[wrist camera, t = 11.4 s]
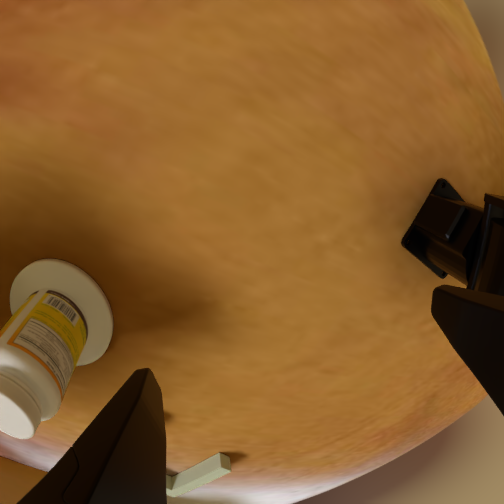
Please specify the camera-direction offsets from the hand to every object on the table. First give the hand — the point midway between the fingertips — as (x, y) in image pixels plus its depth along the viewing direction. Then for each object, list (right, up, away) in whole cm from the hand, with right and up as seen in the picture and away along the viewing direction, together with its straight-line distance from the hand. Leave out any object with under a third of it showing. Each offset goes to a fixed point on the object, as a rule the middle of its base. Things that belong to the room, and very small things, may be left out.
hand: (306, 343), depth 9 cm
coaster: (-16, -2, +12) cm, 20 cm away
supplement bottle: (-16, -2, +12) cm, 20 cm away
